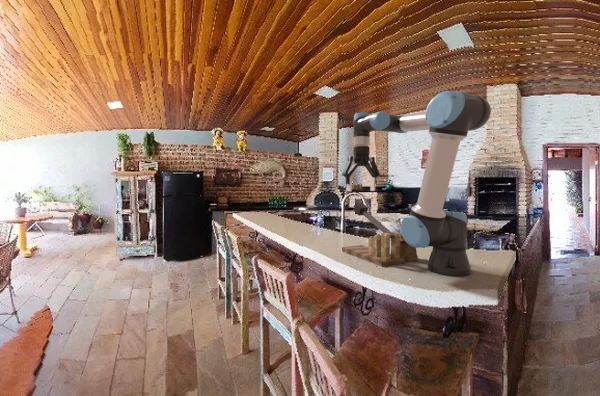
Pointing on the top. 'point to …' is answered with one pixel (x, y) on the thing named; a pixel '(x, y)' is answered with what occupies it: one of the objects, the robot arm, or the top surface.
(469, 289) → the top surface
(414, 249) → the wooden mug
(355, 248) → the nutcracker base
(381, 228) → the lever
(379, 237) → the walnut
